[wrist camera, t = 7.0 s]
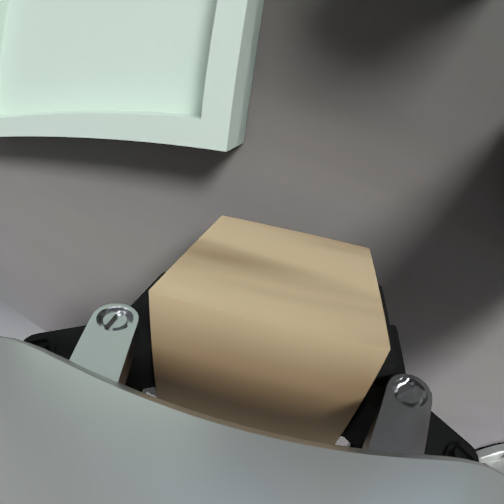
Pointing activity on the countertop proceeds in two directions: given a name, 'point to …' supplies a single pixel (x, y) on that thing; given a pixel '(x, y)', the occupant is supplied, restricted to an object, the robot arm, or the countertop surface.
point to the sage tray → (129, 69)
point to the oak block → (269, 329)
